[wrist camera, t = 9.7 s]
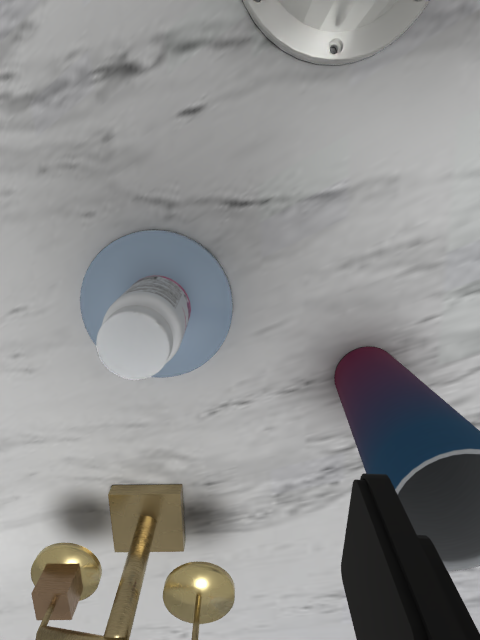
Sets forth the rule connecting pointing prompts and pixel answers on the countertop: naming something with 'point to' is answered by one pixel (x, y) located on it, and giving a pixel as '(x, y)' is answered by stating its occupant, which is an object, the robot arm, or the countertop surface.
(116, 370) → the pill bottle
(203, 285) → the saucer
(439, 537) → the cup
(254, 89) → the countertop surface
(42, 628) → the balance
